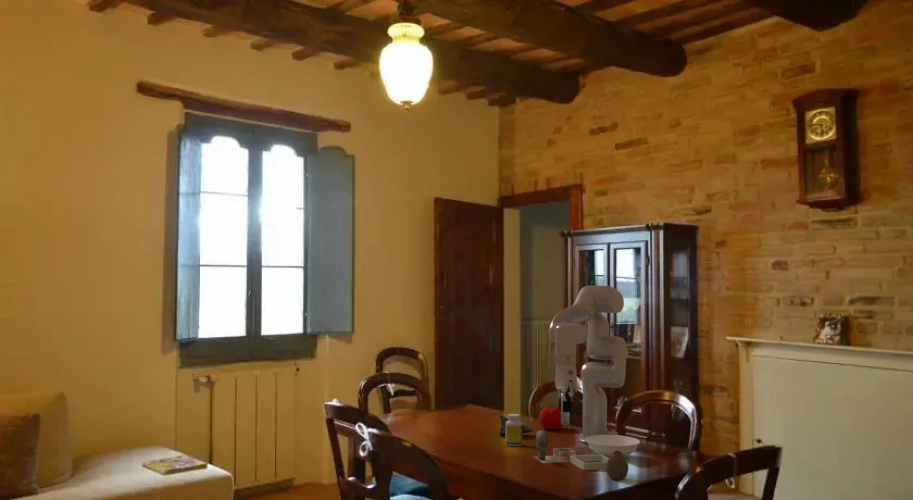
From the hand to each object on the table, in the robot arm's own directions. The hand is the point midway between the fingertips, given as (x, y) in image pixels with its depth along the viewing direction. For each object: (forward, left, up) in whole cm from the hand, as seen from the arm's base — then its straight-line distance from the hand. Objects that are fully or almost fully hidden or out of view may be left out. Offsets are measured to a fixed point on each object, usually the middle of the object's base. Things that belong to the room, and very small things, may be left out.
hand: (565, 410), depth 278 cm
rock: (+3, -48, -18) cm, 51 cm away
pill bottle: (+9, -30, -18) cm, 36 cm away
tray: (-6, +11, -18) cm, 22 cm away
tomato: (-18, -59, -18) cm, 64 cm away
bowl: (-20, -3, -18) cm, 27 cm away
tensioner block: (+3, 0, -18) cm, 18 cm away
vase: (-8, +26, -18) cm, 33 cm away
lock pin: (0, 0, -5) cm, 5 cm away
